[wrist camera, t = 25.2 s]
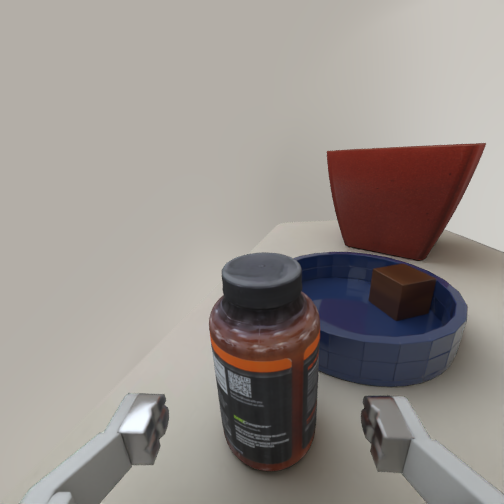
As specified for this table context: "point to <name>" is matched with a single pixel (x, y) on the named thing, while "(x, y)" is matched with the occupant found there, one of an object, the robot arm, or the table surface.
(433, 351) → the bowl
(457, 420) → the table surface
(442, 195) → the flower pot
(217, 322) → the supplement bottle
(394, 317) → the block
